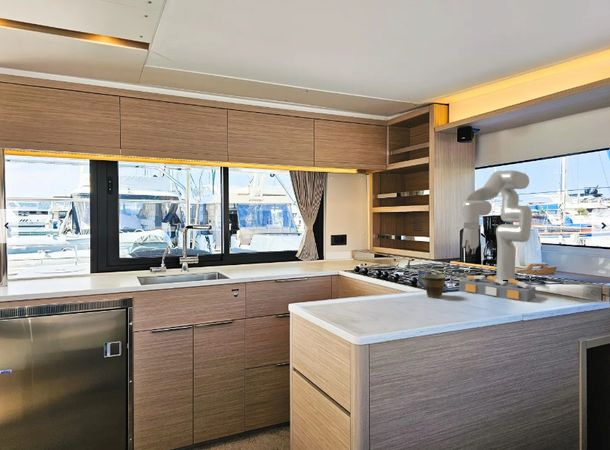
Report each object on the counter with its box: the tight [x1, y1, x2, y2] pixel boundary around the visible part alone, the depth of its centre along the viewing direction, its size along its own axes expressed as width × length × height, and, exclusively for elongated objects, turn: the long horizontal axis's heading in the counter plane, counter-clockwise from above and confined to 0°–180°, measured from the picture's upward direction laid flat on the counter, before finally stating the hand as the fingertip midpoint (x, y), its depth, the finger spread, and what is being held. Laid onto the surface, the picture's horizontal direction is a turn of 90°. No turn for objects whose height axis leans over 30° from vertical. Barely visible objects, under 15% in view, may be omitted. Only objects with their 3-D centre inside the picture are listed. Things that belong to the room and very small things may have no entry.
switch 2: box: [486, 275, 507, 285], centre depth 207 cm, size 4×8×2 cm, turn 46°
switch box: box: [458, 278, 536, 302], centre depth 207 cm, size 13×32×6 cm, turn 46°
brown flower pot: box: [417, 273, 446, 299], centre depth 203 cm, size 13×10×10 cm
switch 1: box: [465, 275, 486, 280], centre depth 214 cm, size 4×8×2 cm, turn 46°
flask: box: [417, 266, 432, 288], centre depth 223 cm, size 9×3×11 cm, turn 28°
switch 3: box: [507, 278, 529, 288], centre depth 200 cm, size 4×8×2 cm, turn 46°
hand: (471, 261), depth 216 cm, fingers closed
